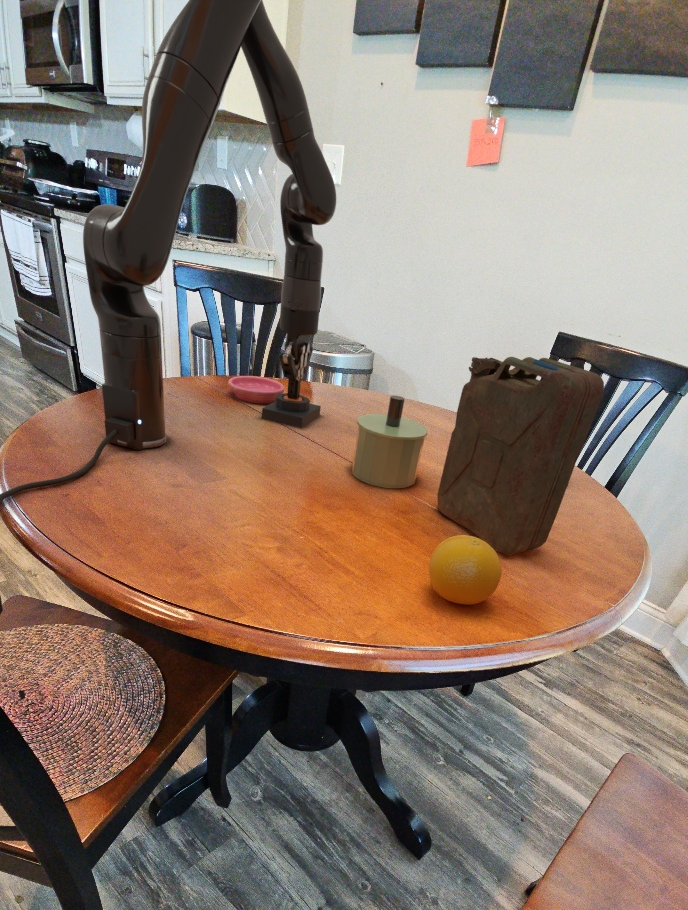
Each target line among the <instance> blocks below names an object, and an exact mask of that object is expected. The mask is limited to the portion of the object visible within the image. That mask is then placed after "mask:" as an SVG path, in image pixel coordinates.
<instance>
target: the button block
mask: <svg viewBox="0 0 688 910" xmlns="http://www.w3.org/2000/svg"><path fill="white" fill-rule="evenodd" d="M287 393H288V392H286V393H285V392H283V394H278V395H276V401H275V402H272V403H268V404H267V405H265V406H263V407H262V408H261V420H266V421H270V422H273V423H278V424H282V425H287V426H289V427H294V428H299V429H303V428H305V427H306V426H307V425H309V424H310V423H312V422H313V421H315V420H316V419H318V418H319V417H320V416H321V407H322V406H321V405H319V404H314V403H311V400H310V399H309V397H306V396H304V395H301V394H300V396H299V397H300V398H302V401H298V402H297V401H289V400H286V399H283V397H284V396H287Z"/></svg>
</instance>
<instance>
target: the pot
mask: <svg viewBox="0 0 688 910" xmlns="http://www.w3.org/2000/svg"><path fill="white" fill-rule="evenodd" d="M425 438H426V437H424V438H422V439H418V440H397V439H391V438H385V437H381V436H378V435H374V434H372V433H369V432H367V431H365V430H363V429H362V428H360V427H359V426H358V425H357V431H356V439H355V444H354V451H353V460H352V465H351V468H352V469H351V472H352V475H353V476H354V477H355V478H356V479H358V480H359V481H361V482H362V483H366V484H368V485H371V486H374V487H379V488H386V489H405V488H409V487H410V486H412V485H414V484H415V483H416V479H417V475H418V470H419V466H420V461H421V457H422V452H423V449H424V448H423V447H424V443H425Z"/></svg>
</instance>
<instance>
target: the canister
mask: <svg viewBox="0 0 688 910" xmlns="http://www.w3.org/2000/svg"><path fill="white" fill-rule="evenodd" d="M511 367H513V368H511ZM468 370H469V372H470V379H469V381H467V382H466V383H465V384H464V385H463V387H462V389H461V394H460V398H459V402H458V406H457V410H456V417H455V425H454V428H453V430H452V432H451V435H450V439H449V444H448V448H447V451H446V456H445V461H444V464H443V469H442V473H441V474H442V475H441V477H440V482H439V485H438V490H437V496H436V497H437V507H438V509H439V511H440V513H441V514H442V515H443V516H445V517H447V518H449V519H450V520H452V521H453V522H455V523H456V524H458V525H460V526H461V527H462V528H463V527H464V528H465V529H467V530H469V531H470V532H471V533H473V534H474V535H475V536H477V538H479V539H481V540H483V541H484V542H486V543H487V544H488V545H490V546H491V547H492V548H493V549H494V551H495V552H498V553H500V554H503V555H506V556H507V555H508V556H511V555H515V554H520V553H521V554H522V553H526V552H531V551H534V550H536V549H538V548H541V547H542V546H543V545H544V544H545V543H547V540H548V538H549V535H550V533H551V531H552V528H553V525H554V522H555V520H556V518H557V516H558V514H559V510H560V507H561V504H562V502H563V499H564V496H565V494H566V491H567V488H568V486H569V483H570V481H571V478H572V475H573V472H574V469H575V466H576V463H577V461H578V459H579V456H580V453H581V451H582V449H583V448H584V444H585V442H586V439H587V436H588V434H589V431H590V429H591V427H592V423H593V421H594V419H595V416H596V413H597V411H598V408H599V406H600V403H601V400H602V398H603V395H604V390H605V382H604V380H603V377H601V376H600V375H599V374H598V373H596V372H593V371H590V370H587V369H585V368H581V367H577V366H573V365H570V364H567V363H565V362H560V361H557V360H554V359H551V358H548V357H541V358H539V359H537V358H534V357H531V356H527V357H524V358H522V359H521V358H518V357H515V356H508V357H505V359H504V360H503V361H501V360H499V359H497V358H493V357H489V358H488V357H483V358H481V357H477V356H473V357H471V364H470V366H469V367H468ZM538 377H539V378H542V380H540V379H537V378H538Z"/></svg>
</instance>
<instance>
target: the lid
mask: <svg viewBox="0 0 688 910" xmlns="http://www.w3.org/2000/svg"><path fill="white" fill-rule="evenodd" d="M404 404H405V397H403V396H400V395H396V394H395V395H390V397H389V403H388V408H387V413H366V414H362V415H360V416H358V417H357V420H356V424H357V427H358V426H359V427H360V428H362V429H363V430H365V431H367V432H369V433H372V434H374V435H378V436H381V437H385V438H391V439H397V440H418V439H422V438H424V437H425V438H426V437H427V436H428V432H429V430H428V428H427V427H426V426H425V425H424V424H422V423H420V422H418V421H416V420H414V419H411V418H408V417H403V416H402V415H403V410H404V406H405V405H404Z"/></svg>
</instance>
